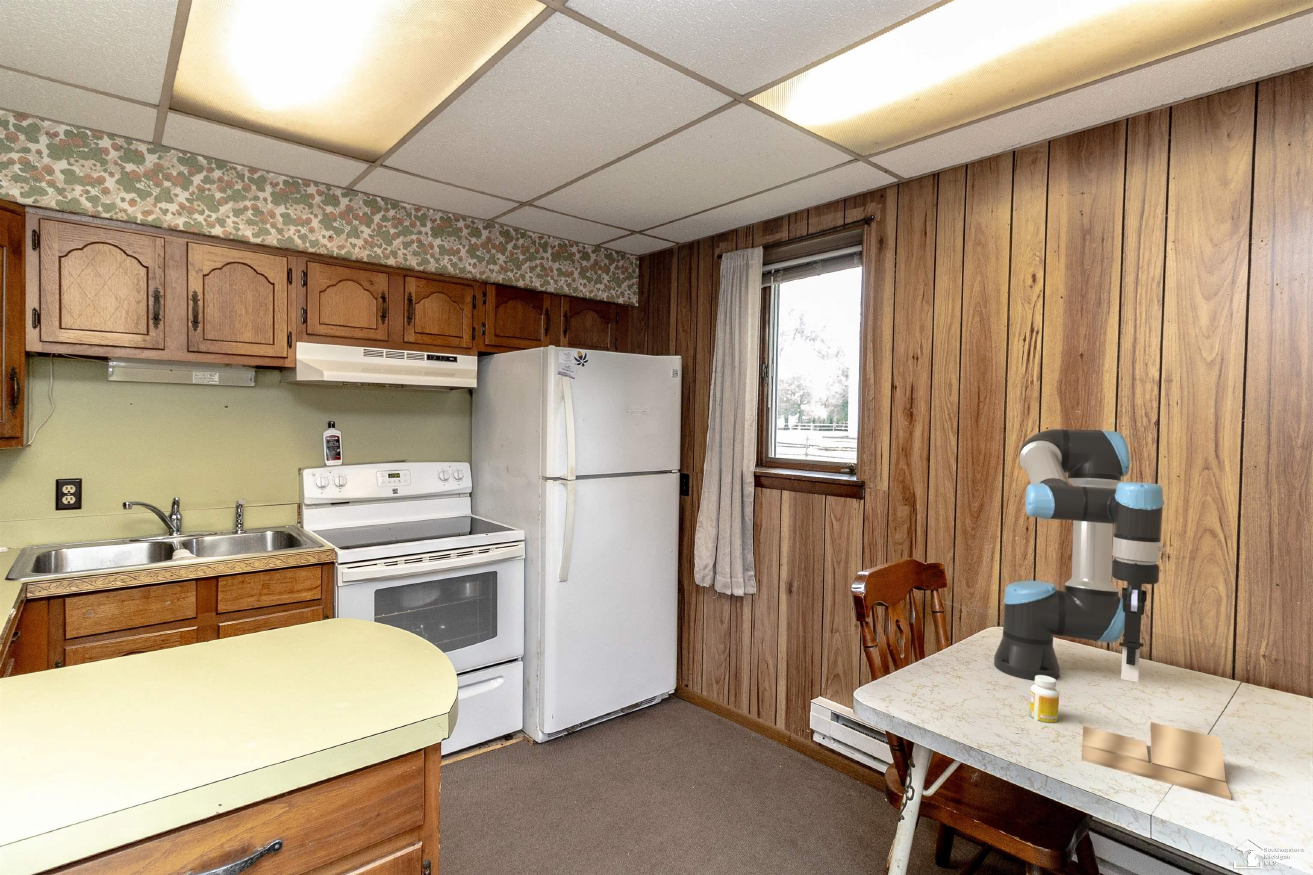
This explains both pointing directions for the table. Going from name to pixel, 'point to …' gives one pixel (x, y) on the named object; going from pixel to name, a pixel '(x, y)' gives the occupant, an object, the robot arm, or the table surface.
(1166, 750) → the plank
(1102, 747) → the plank
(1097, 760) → the laid floorboard
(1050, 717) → the supplement bottle
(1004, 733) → the table surface
